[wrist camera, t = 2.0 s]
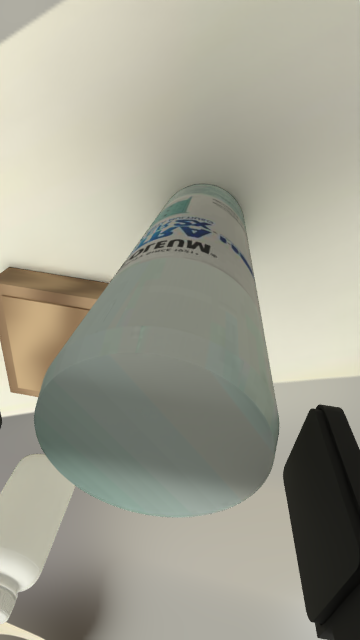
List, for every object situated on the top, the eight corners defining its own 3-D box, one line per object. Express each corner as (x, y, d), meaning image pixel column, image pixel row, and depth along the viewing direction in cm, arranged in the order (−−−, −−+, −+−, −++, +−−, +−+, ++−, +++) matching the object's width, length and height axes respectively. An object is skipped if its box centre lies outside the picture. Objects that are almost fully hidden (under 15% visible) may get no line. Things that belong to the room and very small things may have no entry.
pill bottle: (81, 493, 47) (26, 636, 34) (25, 484, 47) (-50, 622, 34) (75, 456, 42) (10, 603, 30) (14, 447, 43) (-76, 588, 30)
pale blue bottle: (190, 281, 28) (131, 537, 11) (142, 213, 26) (-25, 409, 9) (261, 240, 26) (327, 489, 9) (217, 161, 23) (185, 292, 6)
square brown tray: (145, 289, 29) (136, 307, 26) (137, 391, 35) (130, 415, 33) (9, 267, 29) (-13, 282, 27) (26, 372, 36) (9, 393, 33)
